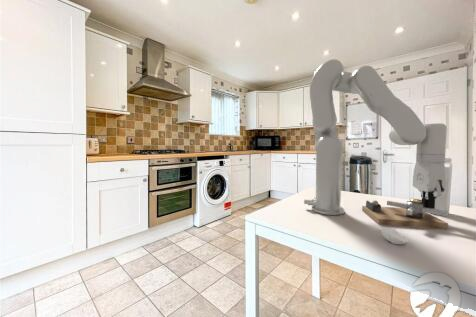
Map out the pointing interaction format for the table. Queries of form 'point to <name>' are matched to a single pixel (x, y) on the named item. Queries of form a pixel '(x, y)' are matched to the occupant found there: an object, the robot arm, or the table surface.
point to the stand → (400, 217)
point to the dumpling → (393, 235)
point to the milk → (444, 200)
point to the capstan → (416, 208)
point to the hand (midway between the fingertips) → (427, 209)
